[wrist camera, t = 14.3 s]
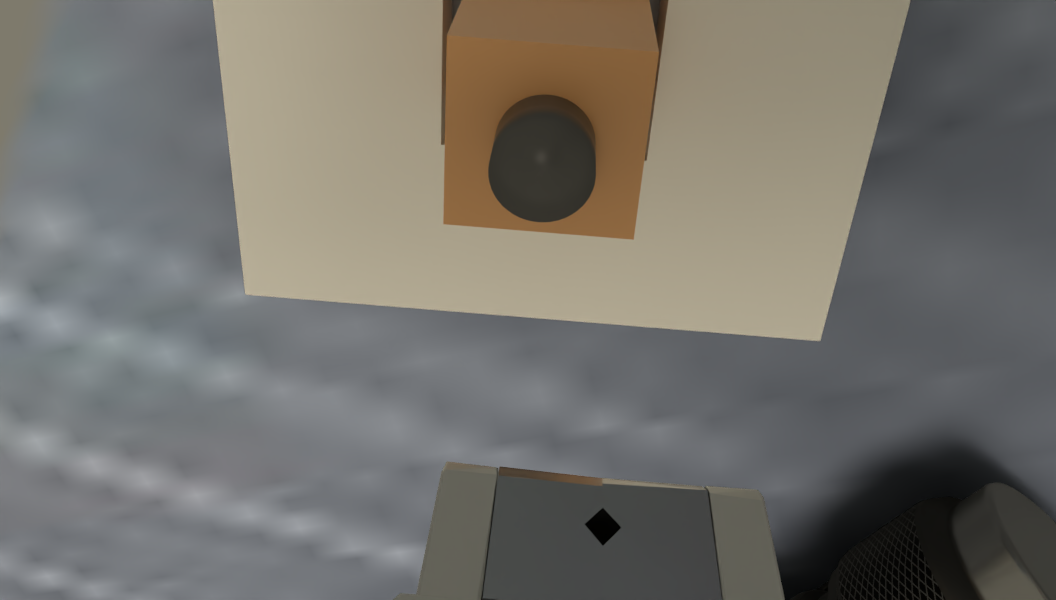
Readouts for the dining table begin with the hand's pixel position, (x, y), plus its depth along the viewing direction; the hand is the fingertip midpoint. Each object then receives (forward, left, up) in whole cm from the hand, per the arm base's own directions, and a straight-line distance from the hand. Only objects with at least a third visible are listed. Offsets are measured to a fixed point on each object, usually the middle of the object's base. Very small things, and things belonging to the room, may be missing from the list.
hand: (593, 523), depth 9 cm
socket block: (+1, +1, -21) cm, 21 cm away
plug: (+1, +1, -19) cm, 19 cm away
